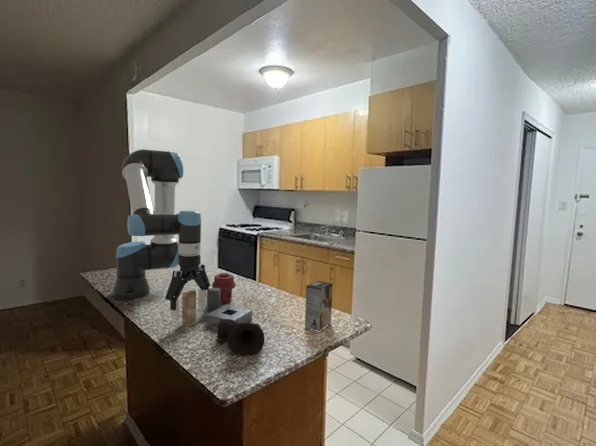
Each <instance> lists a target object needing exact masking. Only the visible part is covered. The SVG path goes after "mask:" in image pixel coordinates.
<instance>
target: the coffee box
mask: <svg viewBox="0 0 596 446" xmlns="http://www.w3.org/2000/svg"><path fill="white" fill-rule="evenodd" d="M305 287H306V289H305V311H304V313H305V316H304V317H305V320H304V329H306V328H308V329H307V330H309V329H313V330H317V331H320V330H322V329H323V328H324V327H326V326H327V325H329V324H330V323H331V324H332V310H333V309H332V307H333V304H332V302H333V282H329V281H322V280H316V281H314V282H312V283H309V284H307V285H306V286H305ZM329 326H330V325H329ZM326 328H327V327H326ZM313 330H312V331H313ZM322 331H323V330H322Z"/></svg>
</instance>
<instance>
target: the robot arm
mask: <svg viewBox="0 0 596 446" xmlns="http://www.w3.org/2000/svg"><path fill="white" fill-rule="evenodd" d="M121 173H122V177H123V178H124V180H126V187H127V192H128V198H129V203H130V204H129V205H130V208H131V214H129V215H128V216H127V233H128V234H129V236H132V237H146V236H147V237H149V236H153V237H152V238H151V239H150V240H149V241H150V242H149V244H147V243H146V242H145V241H143V240H142V241H141V240H140V241H132V242H131V241H129V242H127V243H123V244H120V245H118V246H117V247H116V255H115V258H116V280H115V283H114V285H113V289H112V292H111V293H112V295H111V296H112V297H113V298H115V299H118V300H131V299H140V298H143V297H146V296H148V295H149V294H150V292H151V290H150V289H151V288H150V285H149V282H148V278H147V276H146V271H151V270H162V269H164V270H165V269H172V268H176V267H177V266H179V270H173V271H172V277H171V280H170V283H169V286H168V289H167V292H166V294H165V297H164V299H165V300H166V301H170V308H169V310H170V311H171V314H170V315H171V318H170V319H174V320H180V300H179V297H180V295H181V294H182V292H183V289H184V287H185V286H186V284H187V283H188V282H190V281H192V280H193V281H194V282H195V283H196V284H197V286H198V287H199V289H198V298H197V299H198V300H197V301H198V303H197V304H198V307H199V308H203V309H204V308H206V298H207V290H208V289H210V287H211V282H210V280H209V277H208V275H207V272H206V266H205V264H201V258H202V256H201V254H200V253H201V242H202V240H201V239H202V237H201V236H202V235H201V234H202V217H201V216H202V215H201V212H200V211H199V210H180V211H179V212H178V213H176V214H175V209H176V208H175V203H176V200H175V199H176V196H175V195H176V186H177V185H178V184H179V183H180V182H179V181H180V180H181V179H182V178H183V177H184V163H183V159H182V157H181V155H180V154H179V153H178V152H174V151H165V150H154V149H143V148H142V149H137V150H134V151H133V152H131V153H130V154H128V155H127V156H126V158H125V159H124V160H123V162H122V165H121ZM148 178H150V181H151V183H153V185H154V202H153V199H152V196H151V190H150V186H149V182H148ZM153 203H154V204H153ZM176 235H177V236H178V239H177V238H176V237H175V236H176Z"/></svg>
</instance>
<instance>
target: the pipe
mask: <svg viewBox="0 0 596 446" xmlns="http://www.w3.org/2000/svg"><path fill="white" fill-rule="evenodd" d="M216 329H217V331H216V338H217V339H218V340H220V341H226V343H227V347H229V348H228V349H229V350H230V351H231V352H232V353H233V354H235V355H238V356H242V357H251V356H255V355H257V354H258V353H259V352H260V351H262V350H263V347H264V345H265V334H264V330H263V329H262V328H261V325H260V324H259V323H255V322H249V323H248V322H246V323H242V322H237V321H234V320H232V319H221V320H220V321H219V324H218V328H216Z"/></svg>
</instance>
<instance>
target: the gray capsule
mask: <svg viewBox="0 0 596 446" xmlns="http://www.w3.org/2000/svg"><path fill="white" fill-rule="evenodd" d="M220 299H221V289H219V288H213V287H211V288H210V287H209V289H208V290H206V314H208V313H210V312H212V311H214V310H216V309H218V308H220V307H221V304H220Z"/></svg>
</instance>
